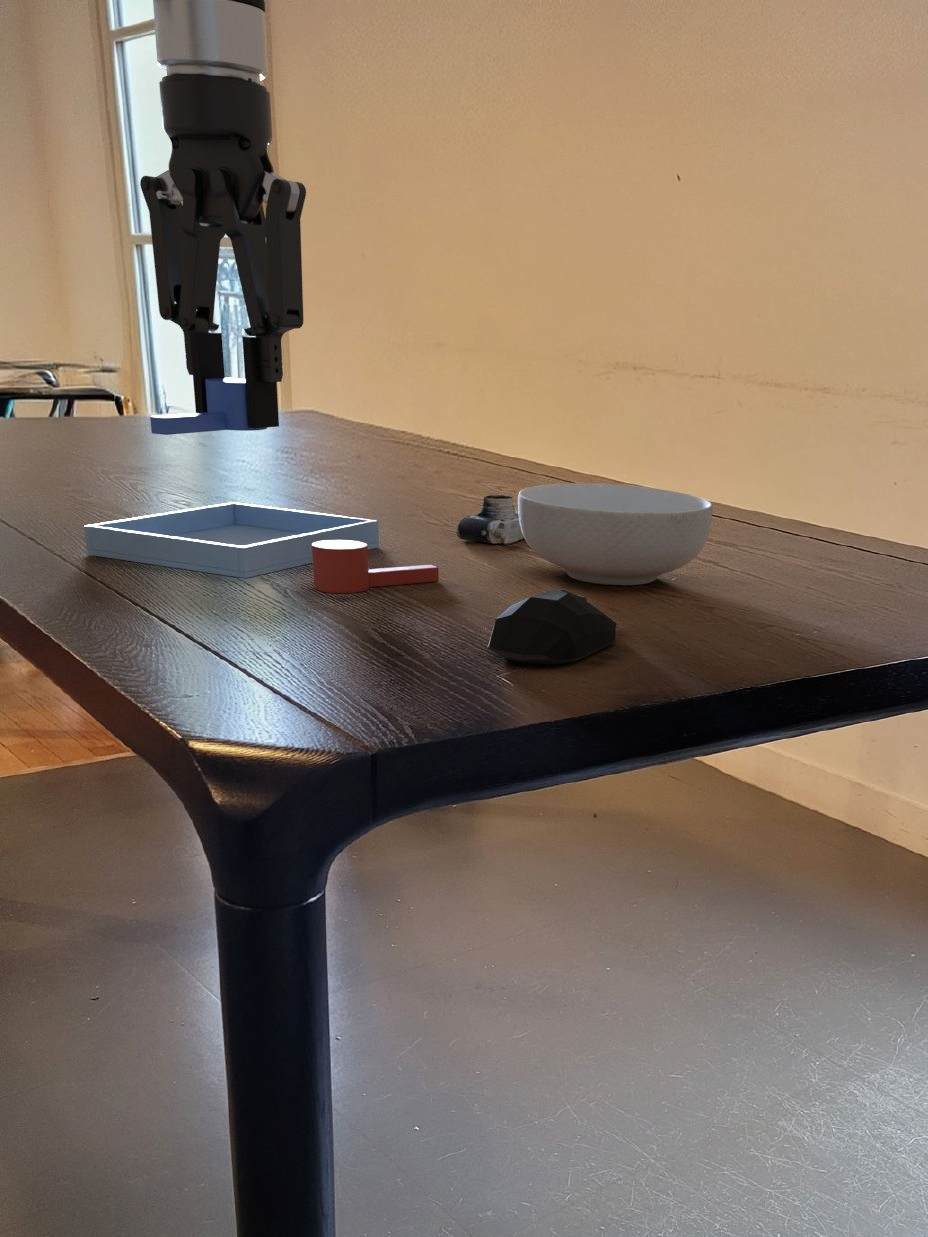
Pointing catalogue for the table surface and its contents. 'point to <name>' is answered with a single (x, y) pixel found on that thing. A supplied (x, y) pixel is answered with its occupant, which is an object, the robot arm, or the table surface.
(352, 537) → the blue tray
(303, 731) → the table surface
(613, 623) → the black faceted rock
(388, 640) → the table surface
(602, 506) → the cereal bowl
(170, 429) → the blue scoop
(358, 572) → the red scoop
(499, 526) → the camera
